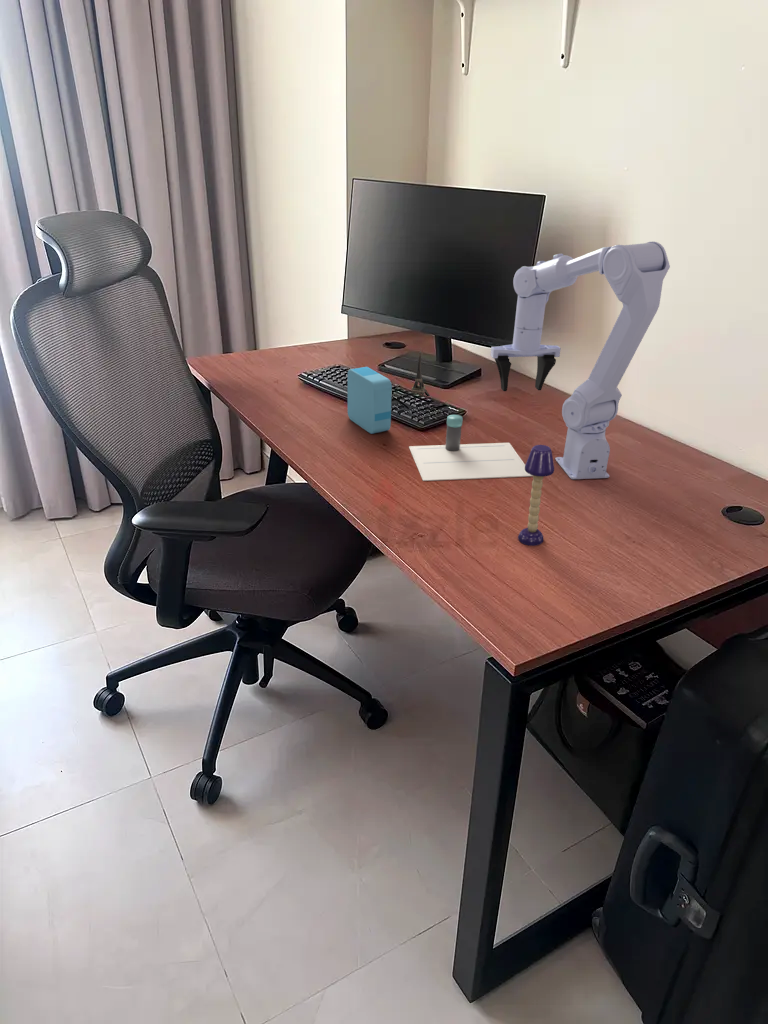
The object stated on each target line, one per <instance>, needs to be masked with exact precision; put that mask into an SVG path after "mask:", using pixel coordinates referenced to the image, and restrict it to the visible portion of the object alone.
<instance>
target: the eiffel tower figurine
mask: <svg viewBox="0 0 768 1024" xmlns="http://www.w3.org/2000/svg"><path fill="white" fill-rule="evenodd" d="M419 348H420V349H419V350H420V351H419V352H418V363H417V372H416V376H415V379H414V380H415V381H414V384H413V386H412V387H411V391H412V392H416V393H415V394H417V393H419V394H422V395H427V396H431V394H430V393H429V392H428V390H427V389H426V386H425V384H424V381H423V377H422V375H423V374H422V354H423V353H422V350H421V349H422V348H421V347H419ZM419 394H418V395H419ZM431 398H433V396H431Z"/></svg>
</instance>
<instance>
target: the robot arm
mask: <svg viewBox="0 0 768 1024" xmlns="http://www.w3.org/2000/svg"><path fill="white" fill-rule="evenodd" d="M670 268H671V265H670V261H669V258H668V255H667V251H666V249H665V247H664V245H662V244H661V243H659V242H657V241H648V242H645V243H644V242H643V243H632V244H616V245H613V246H603V247H601V248H598V249H596V250H594V251H593V250H592V251H591V252H587V253H585V254H583V255H580V256H578V257H575V258H573V257H572V256H569V255H567V254H566V255H564V253H557V254H554V255H553V257H552V259H551V260H550V259H549V260H547V261H545V260H538V261H537V262H536V264H535V265H534V266H533V265H532V266H526V265H524V266H521V267H520V268H518V269H517V270H516V272H515V274H514V277H513V281H512V283H513V289H514V292H515V293H516V295H517V301H516V311H515V318H514V319H515V320H514V329H513V336H512V337H513V338H512V343H511V344H505V345H500V346H499V345H498V346H491V347H490V357H491V358H492V359H494V361H495V364H496V366H497V370H498V374H499V379H500V380H499V381H500V390H502V392H507V391H508V386H509V376H510V370H511V367H512V362H511V361H510V358H521V357H522V358H523V357H524V358H525V357H527V358H528V357H530V358H531V357H536V358H537V367H536V376H535V377H536V378H535V381H534V383H535V384H534V386H535V387H534V388H536V390H537V391H542V388H543V386H544V383H545V381H546V379H547V377H548V375H549V373H550V372H551V370H552V369H553V367H554V366H555V365H556V363H557V359H556V358H560V356H561V351H562V350H561V347H560V346H559V345H555V344H554V345H552V344H550V345H549V344H541V342H542V336H543V335H542V334H543V327H544V321H545V320H544V318H545V312H546V311H545V310H546V305H547V303H548V302H549V298H550V294H551V293H552V292H553V291H558V290H561V289H564V288H567V287H571V286H572V285H574V284H575V283H576V281H577V279H578V277H580V276H585V275H588V274H591V273H597V272H599V274H600V275H604V277H605V280H606V281H607V283H608V284H609V285H610V287H611V289H612V291H613V293H614V294H615V295H616V298H617V300H618V301H619V302H621V304H622V309H621V310H620V313H619V315H618V317H617V319H616V321H615V323H614V325H613V327H612V329H611V330H610V333H609V336H608V337H607V339H606V341H605V344H604V346H603V347H602V350H601V351H600V354H599V356H598V358H597V360H596V362H595V364H594V366H593V368H592V370H591V372H590V374H589V376H588V378H587V379H586V380H585V381H583V382H582V383H581V384H580V385H578V386H577V387H576V388H574V391H573V393H571V396H569V397H568V398H567V399H565V400H564V402H563V404H562V409H561V416H562V418H563V421H564V423H565V426H566V427H567V432H566V437H565V444H564V450H563V456H557V457H555V461H556V462H557V464H558V465H559V466H560V467H561V468H562V470H563V471H564V472H565V473H566V475H567V476H568V477H569V478H570V480H584V479H585V480H588V479H608V478H610V474H609V473H608V472H607V470H608V469H607V468H608V464H609V462H608V461H609V457H610V453H611V448H610V444H609V442H608V440H607V438H606V431H607V430H606V429H607V428H608V427H609V425H610V422H611V421H613V420H614V419H615V418H616V416H617V415H618V411H619V402H620V399H621V398H622V393H621V391H620V389H619V388H618V386H619V384H620V382H621V380H623V379H622V378H623V376H624V375H625V373H626V371H627V369H628V367H629V366H630V364H631V361H632V360H633V358H634V355H636V352H637V351H638V347H639V346H640V344H641V343H642V340H643V339H644V336H645V334H646V333H647V331H648V329H649V327H650V325H651V324H652V322H653V320H654V318H655V316H656V314H657V312H658V310H659V307H660V304H661V297H662V290H663V283H664V279H665V278H666V276H667V273H668V272H669V270H670Z"/></svg>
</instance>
